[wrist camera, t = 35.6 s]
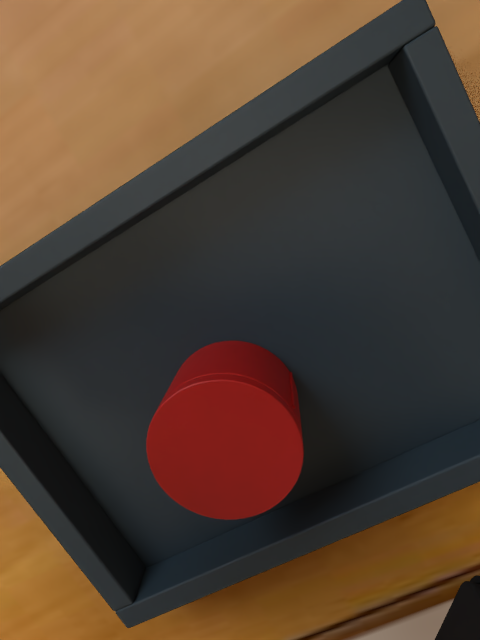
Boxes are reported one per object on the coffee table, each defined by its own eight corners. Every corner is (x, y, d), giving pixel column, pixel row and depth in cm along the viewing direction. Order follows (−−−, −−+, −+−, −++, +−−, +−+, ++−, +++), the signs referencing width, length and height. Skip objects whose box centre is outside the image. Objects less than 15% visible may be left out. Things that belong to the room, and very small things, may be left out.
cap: (258, 315, 13) (254, 349, 10) (322, 421, 14) (334, 481, 11) (148, 377, 14) (115, 424, 11) (214, 474, 15) (199, 542, 12)
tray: (566, 394, 14) (614, 426, 12) (144, 580, 17) (127, 629, 15) (396, 21, 11) (421, -14, 9) (-56, 316, 15) (-106, 335, 13)
